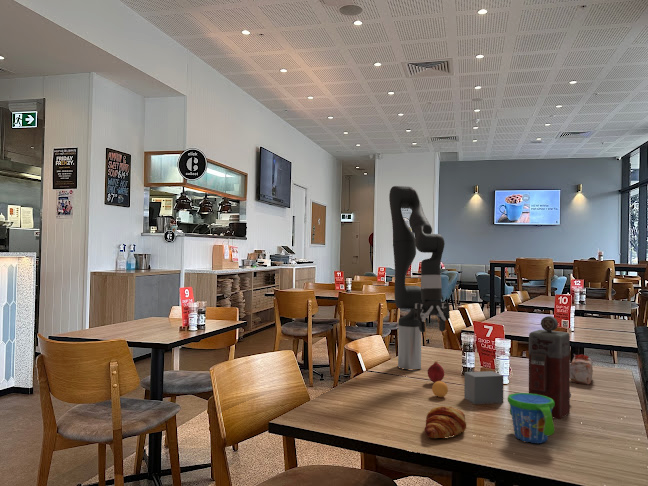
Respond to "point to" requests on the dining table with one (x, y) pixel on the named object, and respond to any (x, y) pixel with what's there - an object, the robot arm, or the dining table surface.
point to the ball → (439, 389)
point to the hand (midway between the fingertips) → (432, 331)
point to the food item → (581, 369)
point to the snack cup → (531, 416)
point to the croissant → (444, 422)
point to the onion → (435, 372)
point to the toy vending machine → (550, 365)
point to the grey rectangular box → (483, 387)
